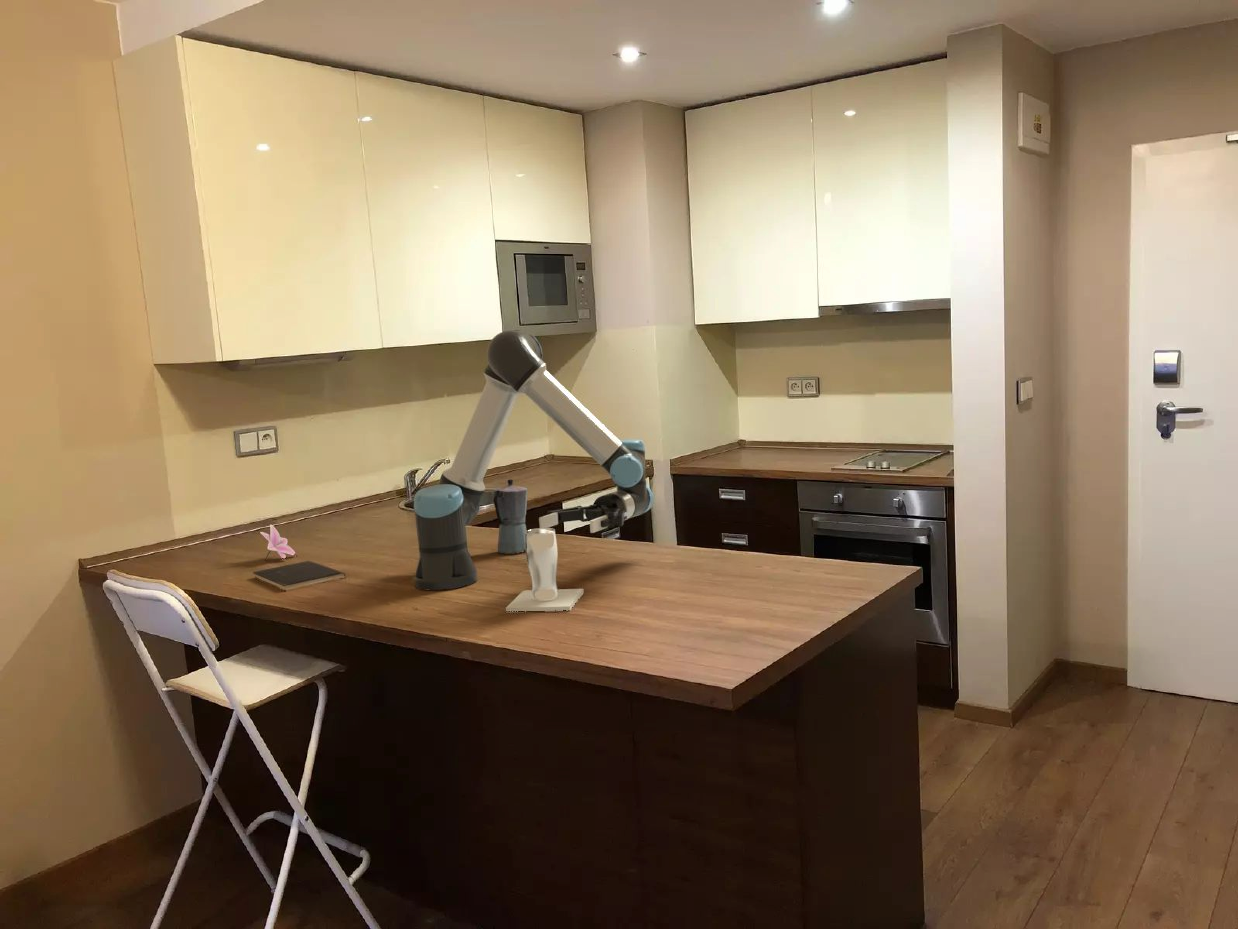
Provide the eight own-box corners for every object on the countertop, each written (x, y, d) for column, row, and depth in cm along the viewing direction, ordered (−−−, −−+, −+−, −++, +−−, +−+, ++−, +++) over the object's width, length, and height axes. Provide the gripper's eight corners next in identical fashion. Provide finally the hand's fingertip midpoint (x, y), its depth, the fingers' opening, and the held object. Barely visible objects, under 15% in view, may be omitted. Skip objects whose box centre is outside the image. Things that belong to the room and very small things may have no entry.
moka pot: (541, 545, 276) (535, 475, 273) (517, 558, 261) (511, 484, 259) (510, 545, 279) (504, 476, 276) (485, 558, 264) (478, 485, 262)
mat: (506, 612, 210) (505, 607, 210) (523, 594, 223) (523, 590, 223) (570, 610, 207) (569, 606, 207) (583, 593, 221) (583, 588, 221)
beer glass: (529, 595, 218) (524, 529, 216) (561, 592, 219) (555, 526, 217) (529, 603, 211) (523, 535, 210) (561, 600, 212) (556, 532, 210)
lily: (263, 570, 275) (277, 540, 275) (240, 551, 281) (253, 521, 281) (296, 573, 286) (310, 544, 285) (274, 555, 292) (286, 526, 291)
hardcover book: (284, 594, 244) (283, 584, 243) (253, 580, 262) (252, 572, 261) (346, 580, 253) (345, 571, 253) (312, 568, 271) (311, 560, 271)
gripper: (658, 526, 234) (614, 544, 216) (570, 521, 246) (521, 538, 228) (657, 495, 233) (612, 511, 215) (569, 491, 245) (519, 506, 227)
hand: (565, 525), depth 222 cm, fingers open, 13 cm apart
